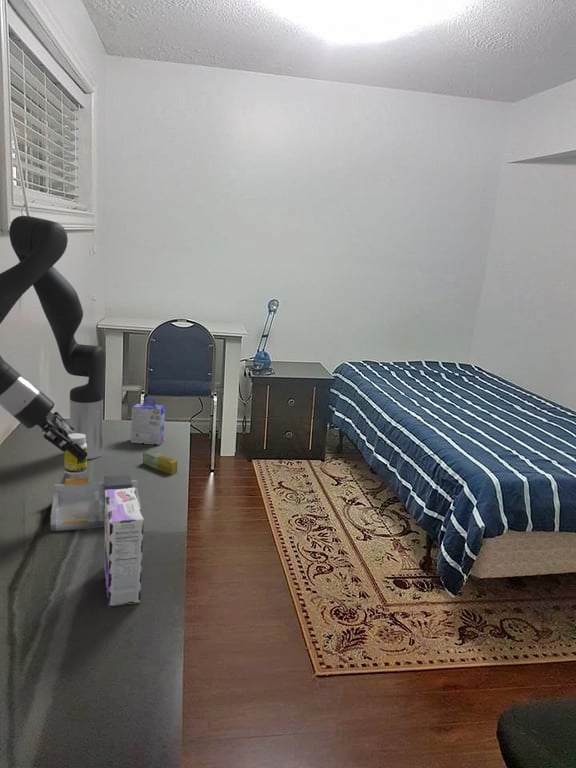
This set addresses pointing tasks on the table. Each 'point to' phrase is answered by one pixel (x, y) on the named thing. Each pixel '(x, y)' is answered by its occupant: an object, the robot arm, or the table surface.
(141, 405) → the ink cartridge box
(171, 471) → the medication box
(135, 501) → the candy box
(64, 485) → the rack
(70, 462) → the supplement bottle
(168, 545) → the table surface
